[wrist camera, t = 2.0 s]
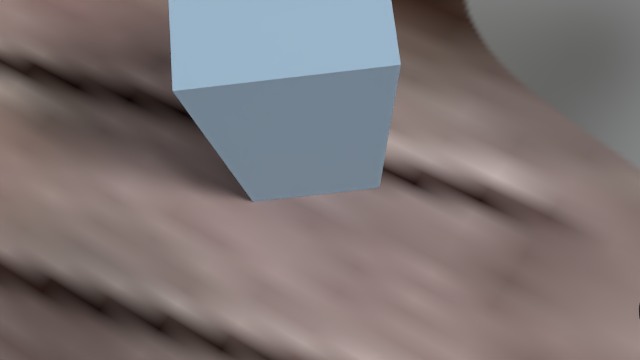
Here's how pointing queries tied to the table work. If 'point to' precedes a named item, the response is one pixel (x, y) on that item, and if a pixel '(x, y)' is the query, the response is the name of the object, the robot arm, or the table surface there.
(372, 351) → the table surface
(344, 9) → the dusty blue block
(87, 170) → the table surface
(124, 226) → the table surface
